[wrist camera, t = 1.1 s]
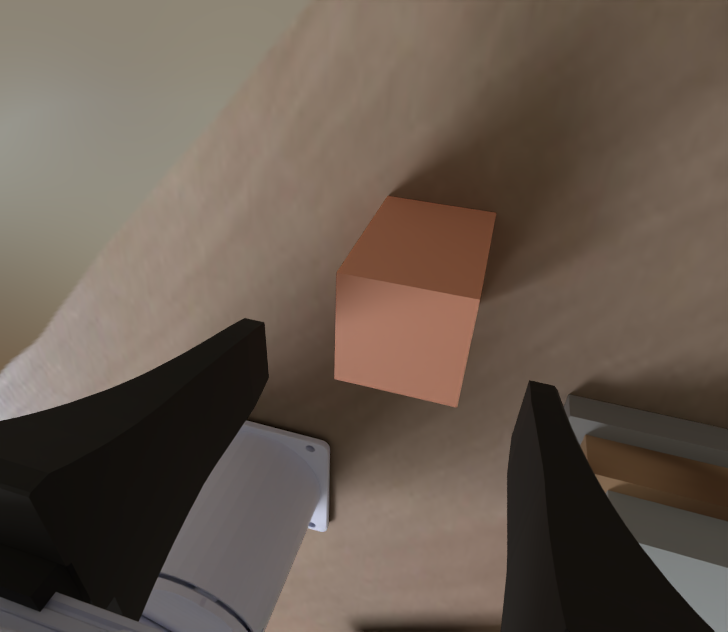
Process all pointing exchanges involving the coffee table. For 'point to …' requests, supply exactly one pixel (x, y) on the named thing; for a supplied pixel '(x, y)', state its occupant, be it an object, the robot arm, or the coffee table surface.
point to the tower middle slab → (659, 477)
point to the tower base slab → (647, 430)
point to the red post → (412, 299)
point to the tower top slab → (683, 552)
